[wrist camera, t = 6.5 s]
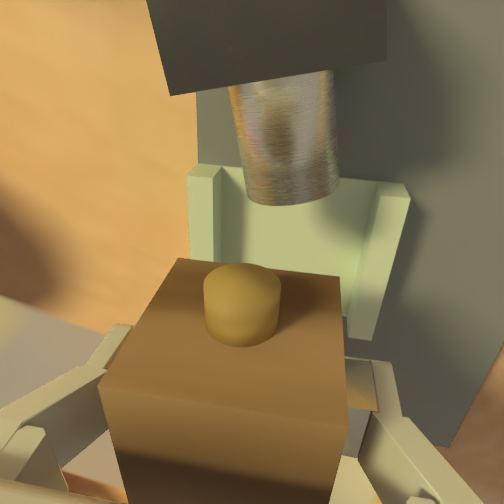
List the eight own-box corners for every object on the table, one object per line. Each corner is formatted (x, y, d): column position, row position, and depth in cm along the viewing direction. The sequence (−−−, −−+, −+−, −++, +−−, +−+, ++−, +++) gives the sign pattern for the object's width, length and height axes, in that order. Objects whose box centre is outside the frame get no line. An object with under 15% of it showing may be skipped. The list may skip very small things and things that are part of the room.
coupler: (175, 225, 10) (86, 345, 6) (345, 243, 9) (359, 386, 6) (189, 392, 13) (136, 534, 10) (314, 412, 13) (310, 571, 9)
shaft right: (368, 148, 14) (385, 200, 10) (236, 163, 15) (200, 215, 11) (364, -103, 10) (388, -194, 6) (195, -59, 12) (118, -111, 7)
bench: (443, 428, 22) (479, 553, 17) (210, 387, 24) (177, 488, 19) (689, -76, 10) (1051, -184, 5) (201, -83, 12) (106, -168, 7)
